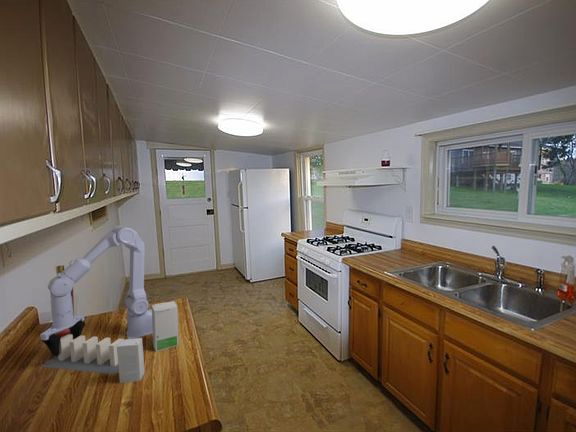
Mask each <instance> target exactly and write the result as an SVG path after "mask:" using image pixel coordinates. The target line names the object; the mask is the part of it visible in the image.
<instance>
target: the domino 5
mask: <svg viewBox="0 0 576 432" xmlns="http://www.w3.org/2000/svg"><path fill="white" fill-rule="evenodd" d="M122 340H124V338H118V339H116V340H115V341H113V342H111V345H109V351H110V364H111V366H116V365H117V364H118V355H117V346H118V345H119V343H120V342H121V341H122Z"/></svg>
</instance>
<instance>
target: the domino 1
mask: <svg viewBox="0 0 576 432" xmlns="http://www.w3.org/2000/svg"><path fill="white" fill-rule="evenodd" d="M72 340H73V335H71V333H70V334H68V335H64V336H62V337H61V339H60V344H59V351H60V353H59V356H58V359H59V360H60V361H63V360H65V359H66V358H68V357H69V356H71V351H70V341H72Z"/></svg>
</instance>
